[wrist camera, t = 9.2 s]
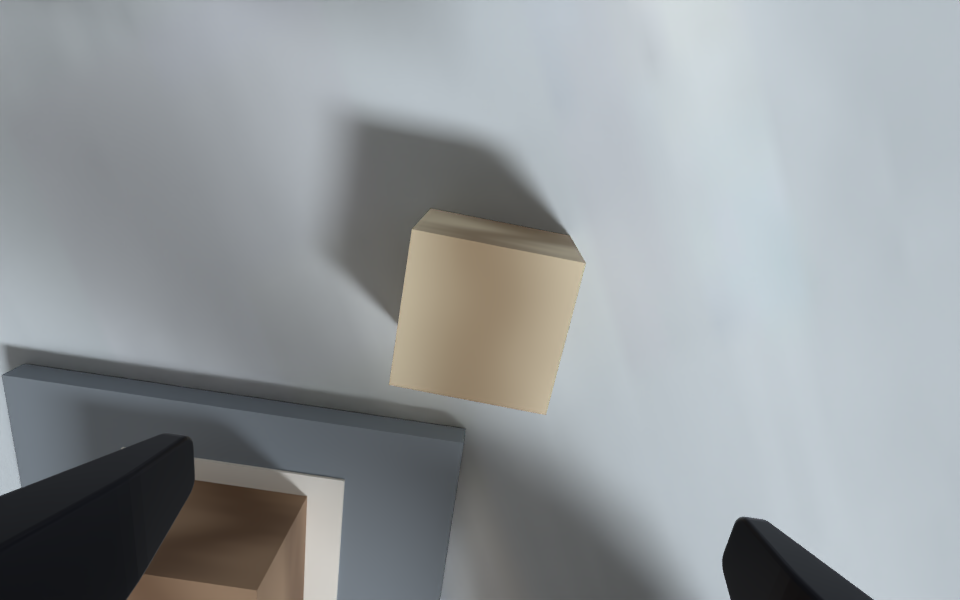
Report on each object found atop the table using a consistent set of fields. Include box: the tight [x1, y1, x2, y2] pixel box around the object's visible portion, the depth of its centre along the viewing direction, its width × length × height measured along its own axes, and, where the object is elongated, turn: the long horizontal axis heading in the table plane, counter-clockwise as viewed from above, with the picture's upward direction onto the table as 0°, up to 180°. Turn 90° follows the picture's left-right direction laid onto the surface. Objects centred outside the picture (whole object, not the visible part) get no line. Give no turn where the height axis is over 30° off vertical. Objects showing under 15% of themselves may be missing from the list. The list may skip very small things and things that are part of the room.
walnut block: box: [127, 480, 307, 600], centre depth 20 cm, size 6×7×4 cm
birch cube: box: [389, 208, 586, 415], centre depth 17 cm, size 5×5×4 cm
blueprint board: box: [2, 364, 466, 600], centre depth 23 cm, size 18×14×1 cm
